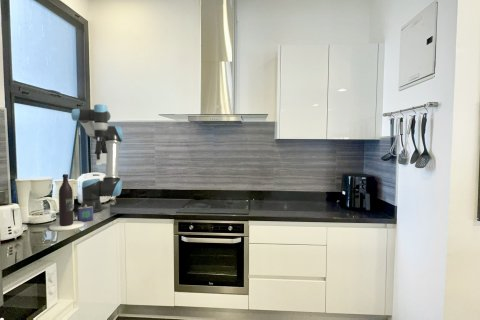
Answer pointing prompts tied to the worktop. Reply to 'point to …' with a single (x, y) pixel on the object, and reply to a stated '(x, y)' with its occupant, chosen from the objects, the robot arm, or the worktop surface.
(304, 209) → the worktop surface
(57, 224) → the ceramic dish
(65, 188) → the wine bottle
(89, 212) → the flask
